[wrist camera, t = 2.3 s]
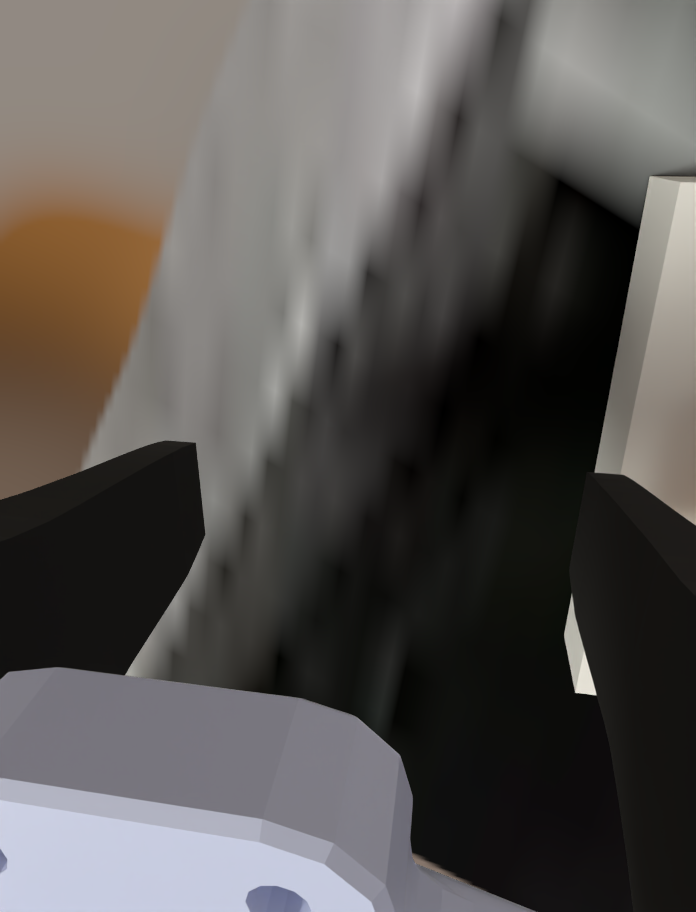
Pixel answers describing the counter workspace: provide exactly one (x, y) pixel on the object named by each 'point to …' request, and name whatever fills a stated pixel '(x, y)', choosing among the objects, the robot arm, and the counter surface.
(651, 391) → the panel
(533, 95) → the counter surface
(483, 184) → the counter surface
